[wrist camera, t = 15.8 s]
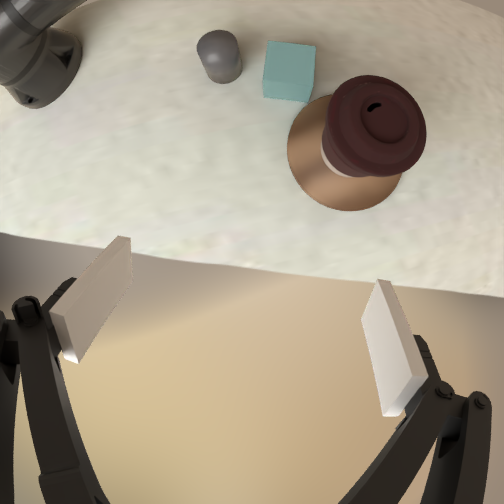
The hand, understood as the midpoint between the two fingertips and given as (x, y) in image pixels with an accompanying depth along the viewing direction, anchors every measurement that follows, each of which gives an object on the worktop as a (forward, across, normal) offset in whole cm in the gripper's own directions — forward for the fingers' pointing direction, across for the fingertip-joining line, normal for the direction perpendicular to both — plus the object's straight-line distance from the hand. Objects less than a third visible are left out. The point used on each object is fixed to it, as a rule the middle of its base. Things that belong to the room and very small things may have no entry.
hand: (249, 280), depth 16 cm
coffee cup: (+28, +9, +3) cm, 30 cm away
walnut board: (+29, +10, +3) cm, 31 cm away
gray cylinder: (+33, -9, +12) cm, 36 cm away
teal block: (+33, 0, +11) cm, 35 cm away
